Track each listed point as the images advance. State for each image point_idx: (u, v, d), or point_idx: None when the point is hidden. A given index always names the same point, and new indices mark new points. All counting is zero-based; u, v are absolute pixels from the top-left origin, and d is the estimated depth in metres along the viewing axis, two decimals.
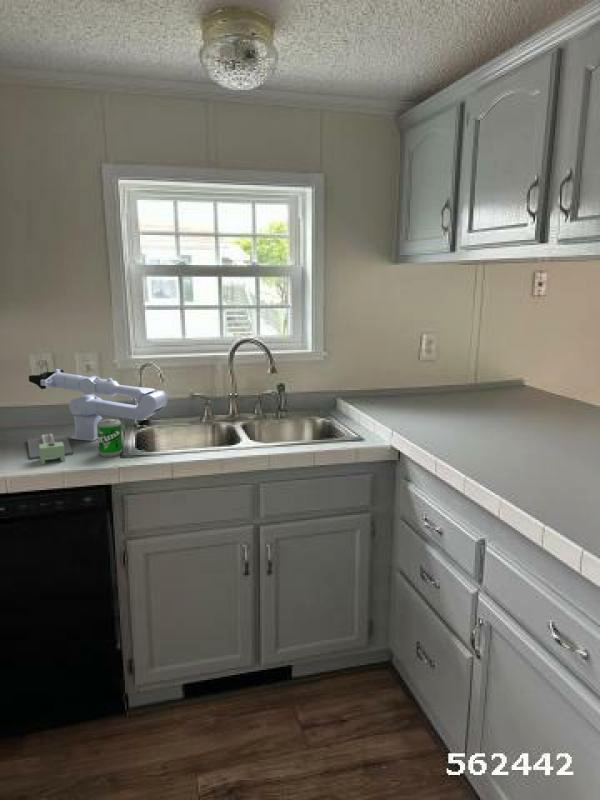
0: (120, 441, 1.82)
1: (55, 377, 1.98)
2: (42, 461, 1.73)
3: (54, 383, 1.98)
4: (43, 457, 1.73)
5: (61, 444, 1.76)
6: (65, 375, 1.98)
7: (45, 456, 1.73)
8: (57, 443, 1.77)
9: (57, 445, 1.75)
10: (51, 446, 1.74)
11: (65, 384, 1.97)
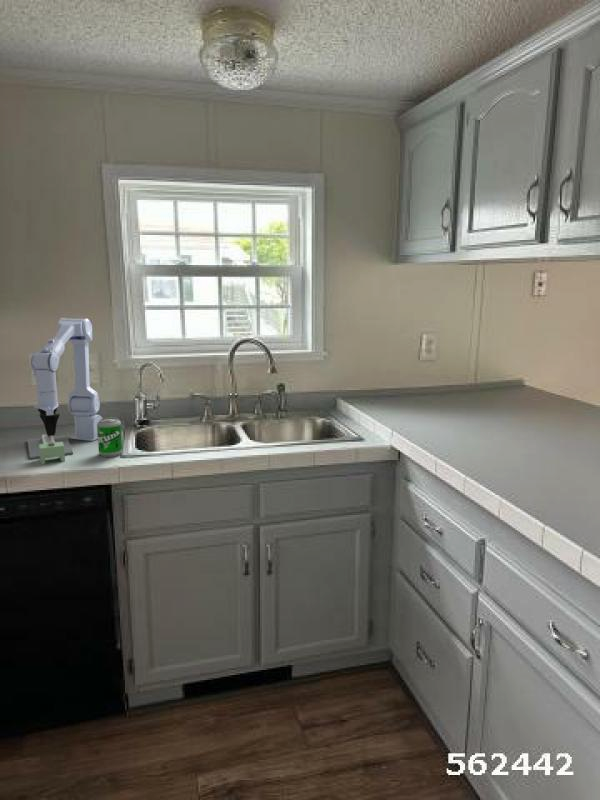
0: (120, 441, 1.82)
1: (43, 404, 1.70)
2: (42, 461, 1.73)
3: (51, 404, 1.70)
4: (43, 457, 1.73)
5: (61, 444, 1.76)
6: (38, 393, 1.69)
7: (45, 456, 1.73)
8: (57, 443, 1.77)
9: (57, 445, 1.75)
10: (51, 446, 1.74)
11: (56, 389, 1.72)
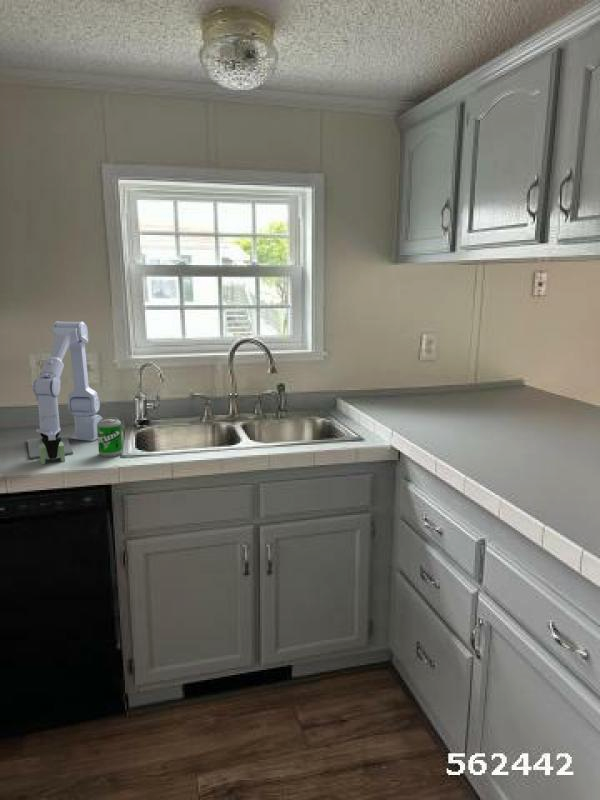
0: (120, 441, 1.82)
1: (45, 429, 1.71)
2: (42, 461, 1.73)
3: (53, 429, 1.72)
4: (43, 457, 1.73)
5: (61, 444, 1.76)
6: (40, 418, 1.71)
7: (45, 456, 1.73)
8: None
9: None
10: None
11: (58, 413, 1.74)
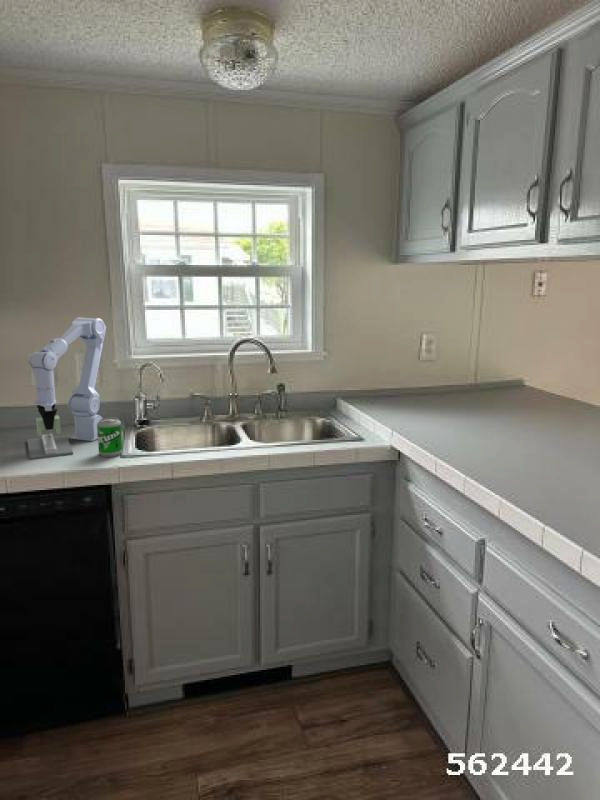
0: (120, 441, 1.82)
1: (41, 400, 1.79)
2: (39, 433, 1.81)
3: (49, 401, 1.80)
4: (40, 429, 1.81)
5: (57, 417, 1.84)
6: (37, 390, 1.79)
7: (42, 428, 1.81)
8: None
9: None
10: None
11: (52, 386, 1.81)
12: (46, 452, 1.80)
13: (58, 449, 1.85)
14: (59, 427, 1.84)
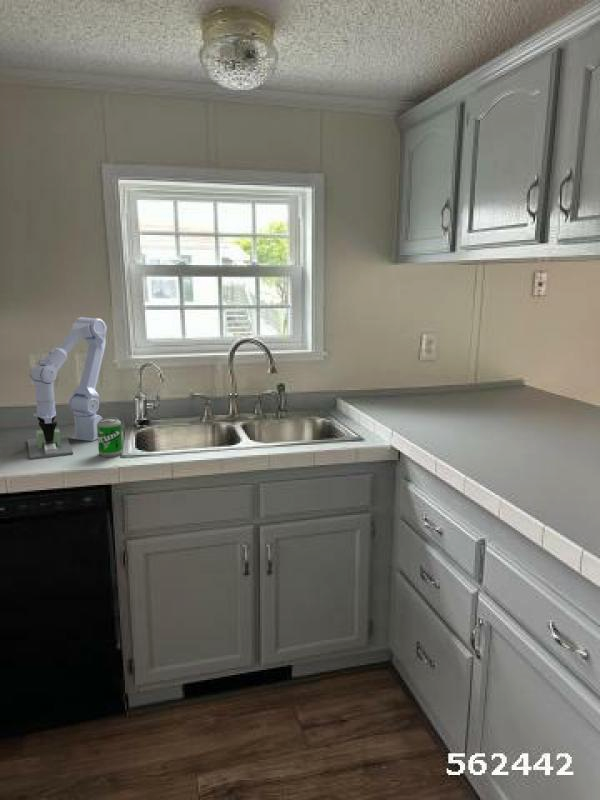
0: (120, 441, 1.82)
1: (42, 413, 1.84)
2: (39, 446, 1.85)
3: (49, 413, 1.85)
4: (40, 442, 1.85)
5: (57, 430, 1.89)
6: (37, 403, 1.84)
7: (42, 441, 1.85)
8: None
9: None
10: None
11: (51, 399, 1.85)
12: (46, 452, 1.80)
13: (58, 449, 1.85)
14: (59, 440, 1.88)
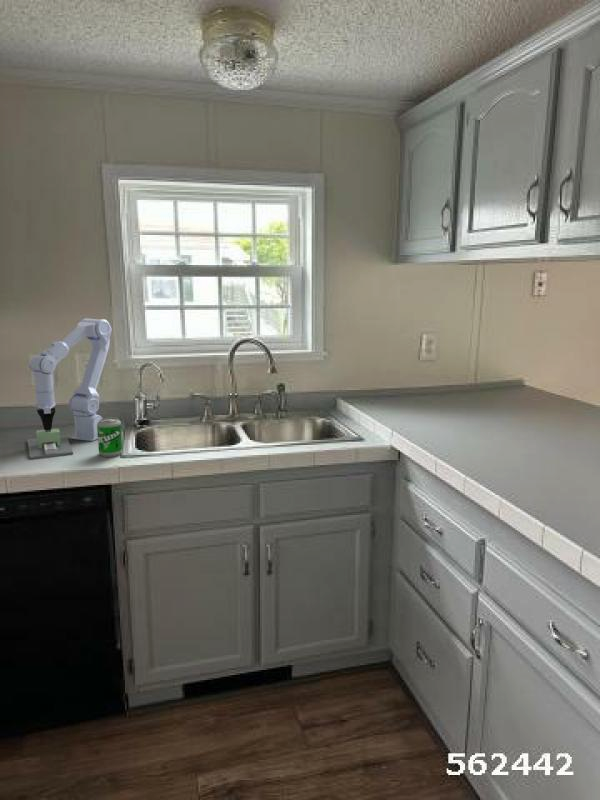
0: (120, 441, 1.82)
1: (41, 403, 1.83)
2: (39, 446, 1.85)
3: (48, 403, 1.84)
4: (40, 442, 1.85)
5: (57, 430, 1.89)
6: (36, 393, 1.83)
7: (42, 441, 1.85)
8: (53, 429, 1.90)
9: (53, 431, 1.88)
10: (48, 432, 1.86)
11: (51, 390, 1.84)
12: (46, 452, 1.80)
13: (58, 449, 1.85)
14: (59, 440, 1.88)
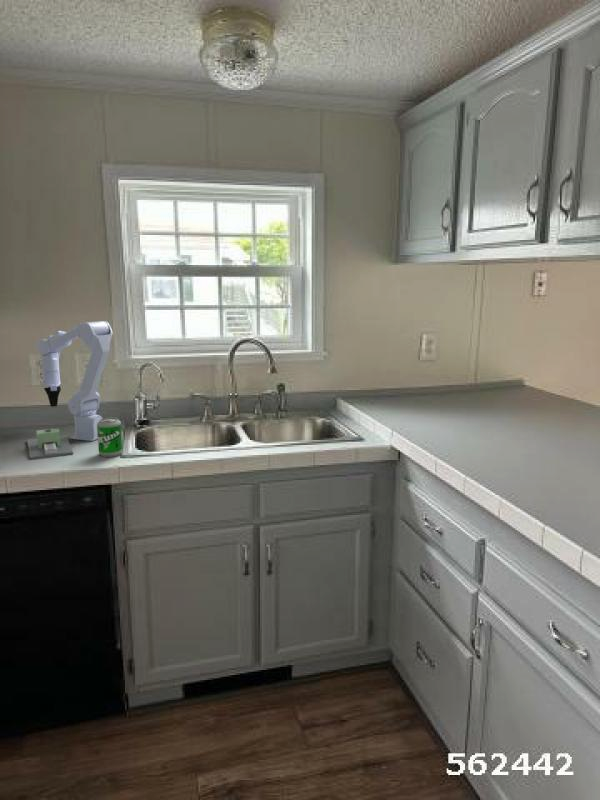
0: (120, 441, 1.82)
1: (48, 382, 2.03)
2: (39, 446, 1.85)
3: (54, 382, 2.04)
4: (40, 442, 1.85)
5: (57, 430, 1.89)
6: (44, 373, 2.02)
7: (42, 441, 1.85)
8: (53, 429, 1.90)
9: (53, 431, 1.88)
10: (48, 432, 1.86)
11: (45, 370, 2.02)
12: (46, 452, 1.80)
13: (58, 449, 1.85)
14: (59, 440, 1.88)
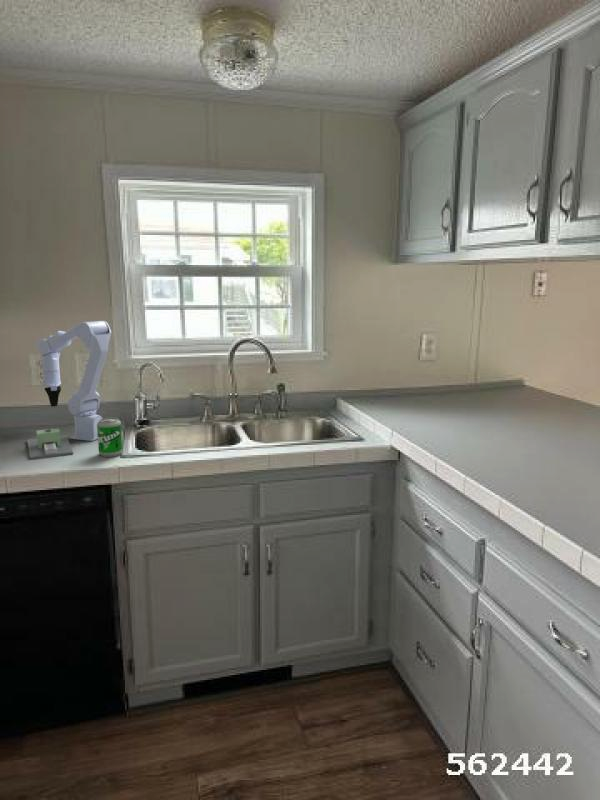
0: (120, 441, 1.82)
1: (48, 382, 2.03)
2: (39, 446, 1.85)
3: (54, 382, 2.04)
4: (40, 442, 1.85)
5: (57, 430, 1.89)
6: (44, 373, 2.03)
7: (42, 441, 1.85)
8: (53, 429, 1.90)
9: (53, 431, 1.88)
10: (48, 432, 1.86)
11: (45, 370, 2.02)
12: (46, 452, 1.80)
13: (58, 449, 1.85)
14: (59, 440, 1.88)
